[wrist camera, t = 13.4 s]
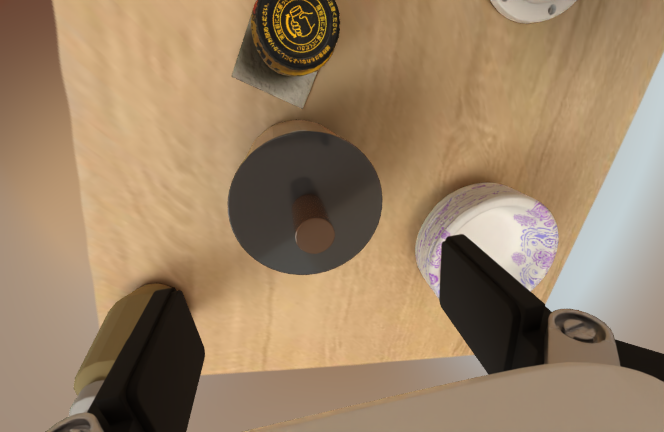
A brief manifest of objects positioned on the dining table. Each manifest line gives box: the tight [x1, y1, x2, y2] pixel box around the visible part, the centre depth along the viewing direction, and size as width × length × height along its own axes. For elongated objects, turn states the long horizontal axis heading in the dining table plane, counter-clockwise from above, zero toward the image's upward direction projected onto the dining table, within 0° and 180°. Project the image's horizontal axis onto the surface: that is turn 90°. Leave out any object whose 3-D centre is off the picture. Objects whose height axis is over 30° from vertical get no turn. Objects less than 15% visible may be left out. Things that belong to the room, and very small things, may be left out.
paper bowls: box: [415, 182, 558, 298], centre depth 39 cm, size 15×15×8 cm
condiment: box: [232, 0, 340, 109], centre depth 25 cm, size 7×8×12 cm
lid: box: [228, 130, 382, 275], centre depth 25 cm, size 13×13×6 cm
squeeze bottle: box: [69, 283, 171, 416], centre depth 31 cm, size 8×8×18 cm
